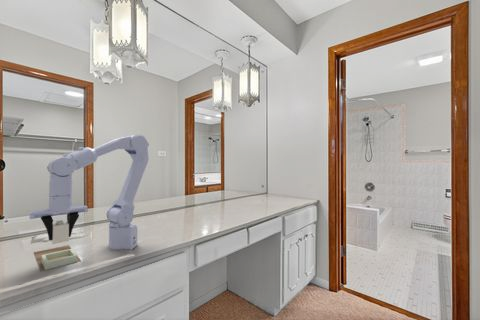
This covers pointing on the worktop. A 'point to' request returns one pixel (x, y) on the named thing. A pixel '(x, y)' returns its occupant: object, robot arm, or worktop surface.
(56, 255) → the holder
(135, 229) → the robot arm
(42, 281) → the worktop surface
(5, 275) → the worktop surface
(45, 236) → the gun
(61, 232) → the plug
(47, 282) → the worktop surface
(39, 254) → the board
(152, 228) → the worktop surface
